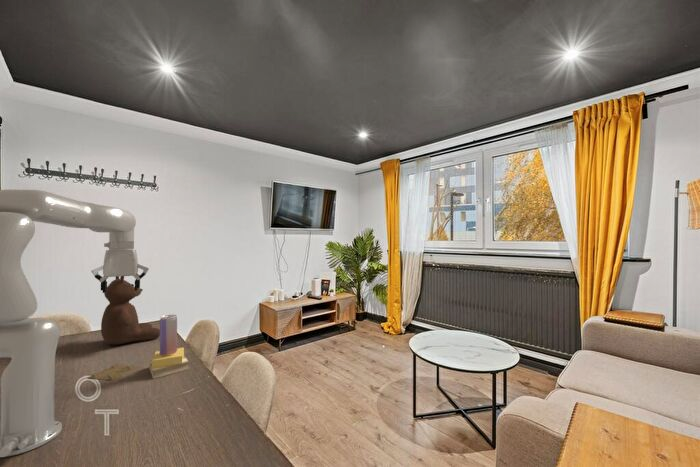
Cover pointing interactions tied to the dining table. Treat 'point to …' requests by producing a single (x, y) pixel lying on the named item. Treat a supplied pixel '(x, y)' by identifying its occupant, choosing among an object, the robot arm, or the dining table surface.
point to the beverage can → (168, 335)
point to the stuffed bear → (124, 316)
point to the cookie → (114, 372)
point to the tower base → (168, 368)
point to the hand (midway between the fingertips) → (120, 291)
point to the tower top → (168, 359)
